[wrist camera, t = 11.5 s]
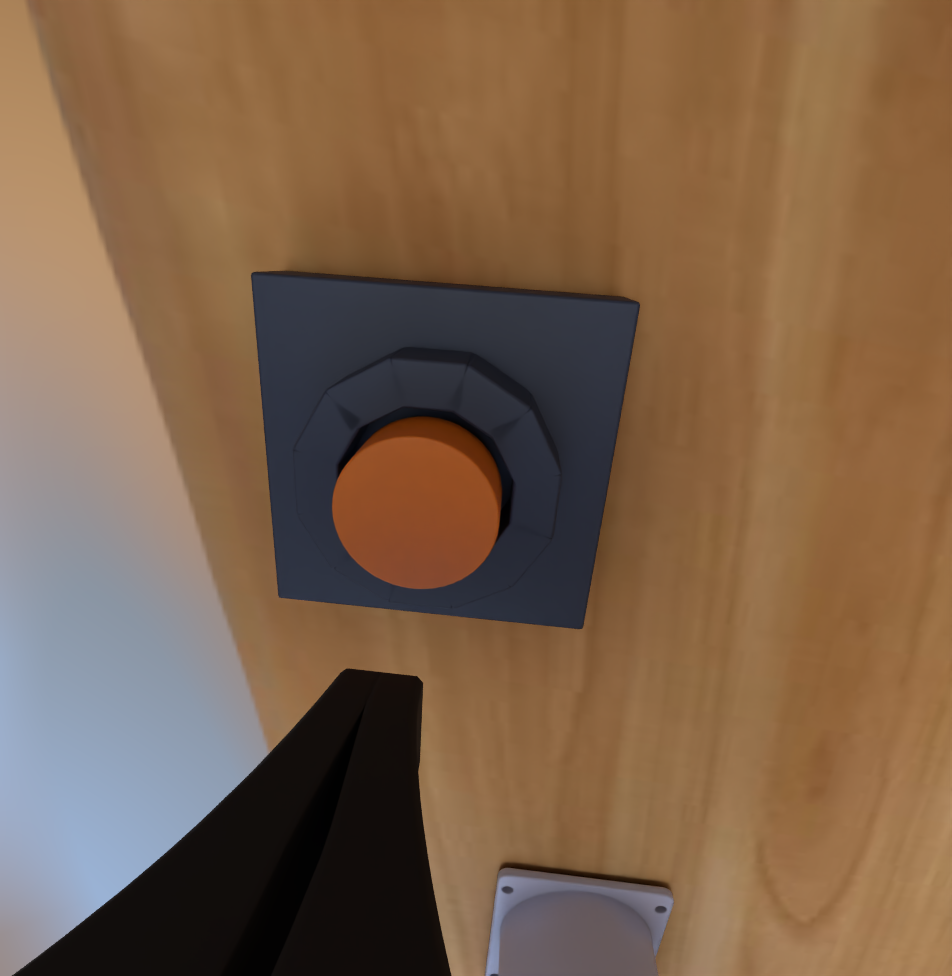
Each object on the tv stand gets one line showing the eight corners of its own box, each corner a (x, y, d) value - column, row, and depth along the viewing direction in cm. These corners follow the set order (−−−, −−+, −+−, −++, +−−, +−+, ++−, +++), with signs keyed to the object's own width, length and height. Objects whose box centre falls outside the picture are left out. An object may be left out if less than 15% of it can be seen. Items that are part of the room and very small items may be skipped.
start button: (495, 562, 15) (492, 597, 14) (354, 547, 15) (334, 581, 14) (508, 423, 14) (506, 444, 12) (350, 408, 14) (327, 428, 12)
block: (576, 592, 19) (589, 669, 16) (302, 564, 20) (252, 632, 16) (625, 297, 16) (657, 307, 12) (284, 270, 16) (212, 272, 12)
